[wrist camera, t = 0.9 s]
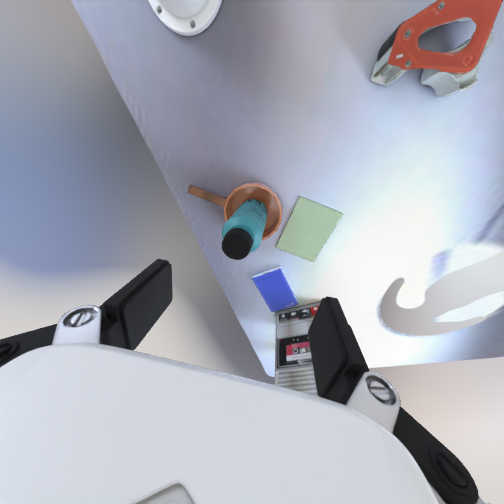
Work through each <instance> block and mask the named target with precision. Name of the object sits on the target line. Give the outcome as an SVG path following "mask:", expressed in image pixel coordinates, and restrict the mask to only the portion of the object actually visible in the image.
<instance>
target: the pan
mask: <svg viewBox="0 0 504 504" xmlns="http://www.w3.org/2000/svg"><path fill="white" fill-rule="evenodd" d="M250 198H251V199H255V198H256V199H258V200H260V201H261V202H263V203H264V204H265V206H266V208H267V212H268V215H267V218H268V219H267V220H266V224H265V227H266V228H264V232H263V235H262V240H264V239H266V238H269V237H270V236H271V235H272V234H273V233H274V232H276V231H277V229H278V227H279V225H280V222H281V220H282V204H281V202H280V199H279V197H278V194H277V193H276V192H275V191H274V190H273V189H272V188H271V187H270V186H268V185H265V184H263V183H260V182H247V183H245V184H243V185H241V186H239V187H237V188H236V189H234V190H233V191H232V193H231V194H230V195H229V196H228V197H227V200H226V203H225V206H224V216H225V221H227V220H228V219H230V218H231V216H232V215H233V214H234V213H235V212H234V211H236V210H237V209H238V208H239V206H241V205H242V204H243V202H244V201H246V200H247V199H248V200H249V199H250Z"/></svg>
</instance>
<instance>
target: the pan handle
mask: <svg viewBox="0 0 504 504" xmlns="http://www.w3.org/2000/svg"><path fill="white" fill-rule="evenodd" d="M188 193H190V194H192V195H195V196H197V197H200V198H203V199H205V200H208V201H210V202H213V203H215V204H218V205H220V206H223V207H224V206H225V203H226V200H227V198H224V197H222V196H219V195H216V194H214V193H211V192H209V191H206V190H204V189H201V188H199V187H196V186H194V185H189V188H188Z"/></svg>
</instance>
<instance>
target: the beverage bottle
mask: <svg viewBox="0 0 504 504" xmlns="http://www.w3.org/2000/svg"><path fill="white" fill-rule="evenodd" d="M234 212H235V213H234V214H233V215H232V216H231V218H230V219H228V220H227V221H226V223H225V224H224V226H223V230H222V236H223V241H222V249H223V252H224V253H225V254H226V255H227V256H228V257H229V258H231V259H235V260H240V259H243V258H245V257H246V256H247V255H248V254H249V253H250V252H253V251H254V250H256V249H257V248H258V247H259V245H260V243H261V241H262V235H263V232H264V228H266V227H265V224H266V220H267V219H268V218H267V215H268V212H267V208H266V206H265V204H264V203H263V202H261V201H260V200H258V199H256V198H255V199H251V198H250V199H249V200H248V199H247V200H246V201H244V202H243V204H242V205H241V206H239V208H238V209H237V210H236V211H234Z"/></svg>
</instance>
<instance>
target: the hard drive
mask: <svg viewBox="0 0 504 504" xmlns="http://www.w3.org/2000/svg"><path fill="white" fill-rule="evenodd" d="M252 279H253V281H254V283H255V284H256V286H257V288H258V290H259V291H260V293H261V295H262V296H263V298H264V300H265V302H266V303H267V305H268V307H269V308H270V310H271V312H275V311H278V310H282V309H285V308H289V307H292V306H296V305H298V304H299V302H298V300H297V298H296V296H295V294H294V292H293V290H292V288H291V286H290V284H289V282H288V280H287V278H286V276H285V274H284V272H283V270H282V268H281V266H279V267H276V268H273V269H270V270H267V271H265V272H262V273H259V274H256V275H254V276H252Z"/></svg>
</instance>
